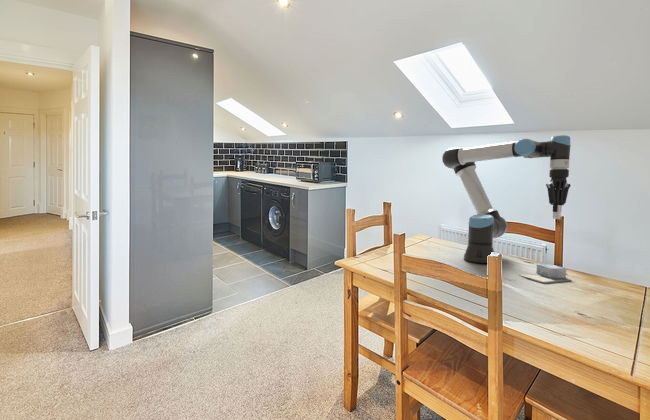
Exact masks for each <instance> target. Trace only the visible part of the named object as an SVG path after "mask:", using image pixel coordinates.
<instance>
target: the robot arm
mask: <svg viewBox="0 0 650 420" xmlns="http://www.w3.org/2000/svg"><path fill="white" fill-rule="evenodd" d="M570 155H571V137H570V136H569V135H565V134H564V135H554V136H551V139H550V140H549V141H548V140H547V141H536V140H533V139H530V138H521V139H519V140H516V141H508V142H502V143H501V142H500V143H494V144H486V145H480V146H474V147H473V146H472V147H466V148H465V146H464V147H463V146H460V147H451V148H448V149H446V150H445V151H444V152H443V154H442V158H441V160H442V163H443V165H444V166H445V167H447V168H448V169H451V170H453V172H454V173H455V175H456V176H457V177H459V178H460V180H461V181H462V185H463V186H464V189H465V191H466V192H467V195H468V197H469V200H470V202H471V204H472V206H473V207H474V208H473V209H474V210H475V212H476V214H473V215H471V216H470V217H469V219H468V234H467V235H468V239H467V247H466V249H465V252H464V254H463V259H464V260H465V261H468V262H471V263H481V264H488V263H487V256H488V255H490V254H491V252H494V253H495V250H494V246H493V243H494V239H497V238H500V237H502V236H503V235H505V234H506V233H507V230H508V223H507V220H506V219H505V218H504V217H502V216H501V215H500V213H499V210H497V209H496V208H493V205H492V204H491V203H492V202H491V201H490V199H489V197H488V195H487V193H486V191H485V189H484V187H483V184H482V181H480V180H481V179H480V178H479V176H478V173H477V172H476V169H477V165H476V163H477V162H483V161H484V162H486V161H492V160H501V159H510V158H518V157H519V158H521V157H522V158H524V159H538V158H550V159H549V169H550V170H549V173H548V174H549V175H548V176H549V178H550V182H548V183H546V185H545V186H546V188H547V195H548V196H547V197H548V203H549V204H550V205H551V206H552V219H553V220H561V215H562V207H563V206H565V204H566V202H567V199H568V194H569V189H570V188H571V183H568V181H567V178H569V175H570V170H569V168H570Z"/></svg>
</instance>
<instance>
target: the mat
mask: <svg viewBox="0 0 650 420" xmlns="http://www.w3.org/2000/svg"><path fill="white" fill-rule="evenodd" d="M519 277H522V278H524V279H525V280H529V281H532V282H536V283H539V284H543V285H551V284H557V283H559V284H560V283H568V282H569V283H570V282H572V281H573V280H572V279H568V278H567V277H566V278H549V277H546V276H542V275H535V274H519Z"/></svg>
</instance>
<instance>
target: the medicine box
mask: <svg viewBox="0 0 650 420" xmlns="http://www.w3.org/2000/svg"><path fill="white" fill-rule="evenodd" d="M536 274H538V275H539V276H546V277H549V278H566V279H567V268H566V267H563V266H559V265H556V264H537V265H536Z"/></svg>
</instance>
